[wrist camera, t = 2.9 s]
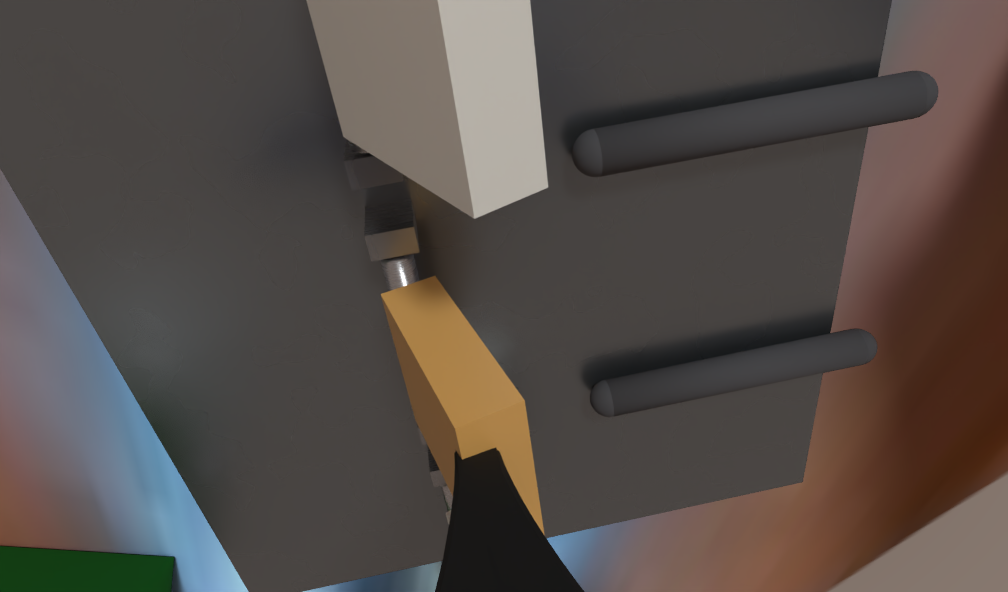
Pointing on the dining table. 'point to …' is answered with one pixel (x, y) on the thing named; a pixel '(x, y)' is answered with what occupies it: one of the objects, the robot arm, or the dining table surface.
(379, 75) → the ivory paddle
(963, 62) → the dining table surface
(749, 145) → the cords
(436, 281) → the orange paddle
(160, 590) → the milk carton
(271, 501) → the panel
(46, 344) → the dining table surface
